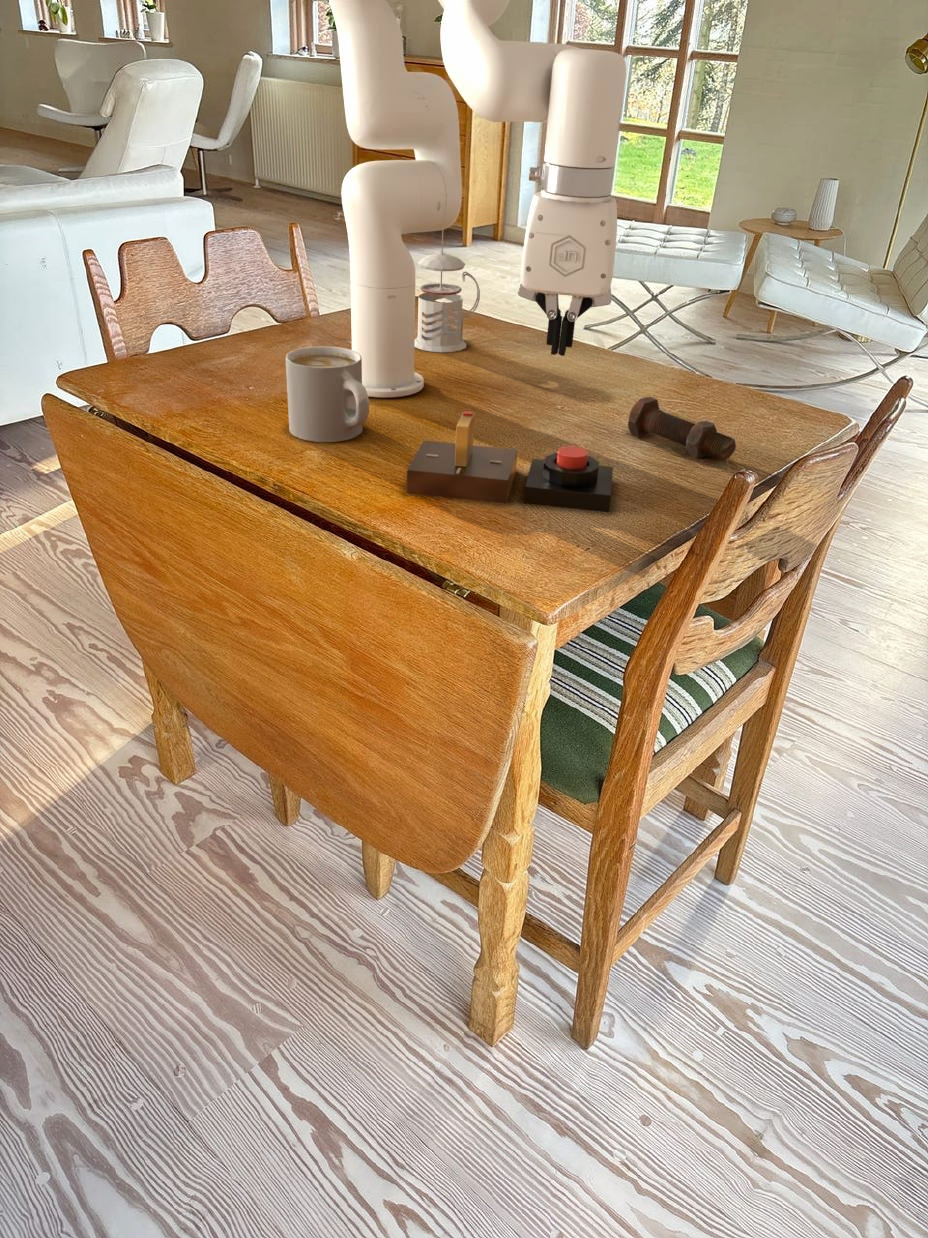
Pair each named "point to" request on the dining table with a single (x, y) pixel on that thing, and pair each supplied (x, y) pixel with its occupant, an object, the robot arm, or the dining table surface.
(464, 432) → the gold slab
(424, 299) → the french press
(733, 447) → the bolt
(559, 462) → the red button
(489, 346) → the dining table surface
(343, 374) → the coffee mug
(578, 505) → the button box
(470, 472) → the plate
